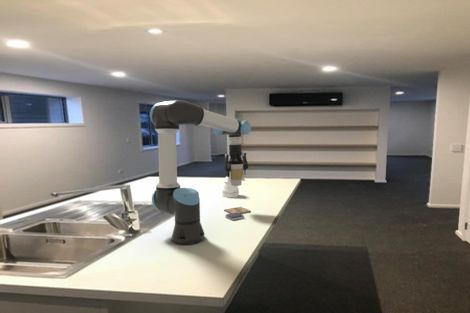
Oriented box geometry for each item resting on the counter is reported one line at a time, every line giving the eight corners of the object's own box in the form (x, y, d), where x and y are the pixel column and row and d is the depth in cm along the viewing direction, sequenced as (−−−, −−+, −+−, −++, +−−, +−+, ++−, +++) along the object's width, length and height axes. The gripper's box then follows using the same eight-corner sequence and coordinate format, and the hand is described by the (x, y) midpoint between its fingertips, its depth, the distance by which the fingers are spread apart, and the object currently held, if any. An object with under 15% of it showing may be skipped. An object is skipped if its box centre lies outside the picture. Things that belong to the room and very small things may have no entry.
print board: (233, 215, 187) (233, 213, 187) (224, 210, 197) (224, 209, 197) (250, 212, 193) (250, 210, 193) (240, 207, 203) (240, 206, 203)
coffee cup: (246, 183, 197) (245, 159, 196) (242, 186, 188) (241, 161, 186) (230, 183, 200) (230, 159, 199) (226, 186, 190) (225, 161, 189)
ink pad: (232, 220, 176) (231, 217, 176) (225, 217, 183) (225, 214, 183) (244, 218, 180) (244, 215, 180) (237, 215, 187) (237, 212, 187)
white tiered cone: (238, 197, 234) (237, 173, 232) (221, 197, 234) (220, 173, 232) (238, 193, 247) (238, 170, 245) (222, 194, 247) (221, 171, 245)
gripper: (222, 145, 183) (223, 184, 185) (253, 143, 193) (254, 180, 195) (216, 144, 189) (217, 182, 191) (247, 142, 200) (248, 178, 202)
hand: (236, 181), depth 193 cm, fingers closed on coffee cup, 9 cm apart
